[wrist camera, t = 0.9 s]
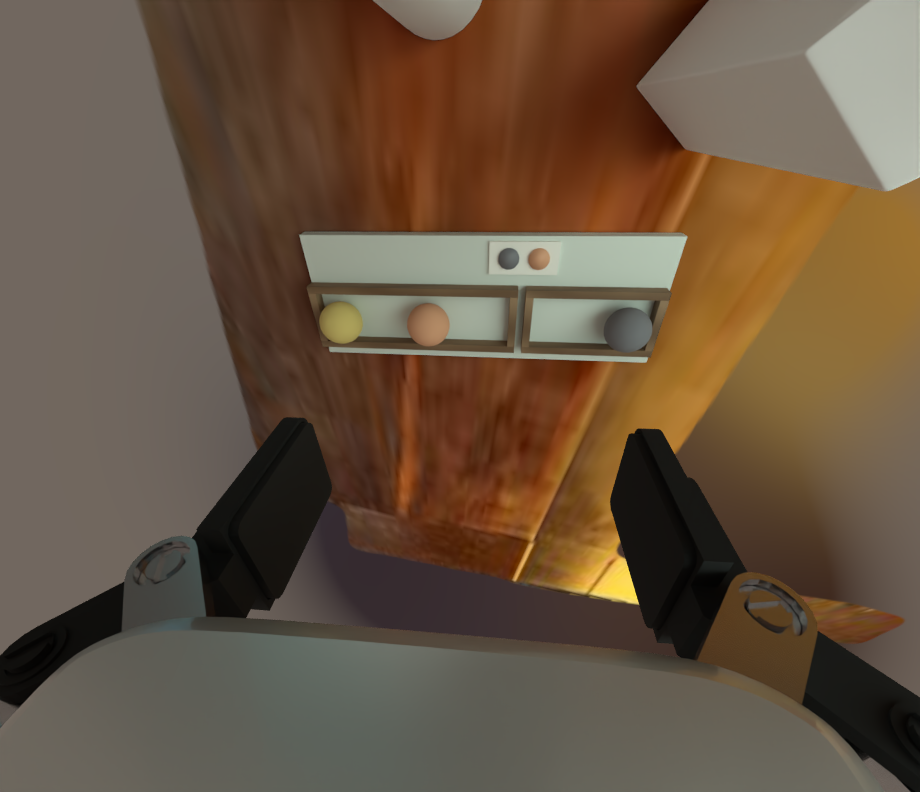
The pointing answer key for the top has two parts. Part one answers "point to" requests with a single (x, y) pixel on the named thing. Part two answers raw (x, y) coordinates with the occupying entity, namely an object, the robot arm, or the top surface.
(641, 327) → the charcoal ball
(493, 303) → the board
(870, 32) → the milk
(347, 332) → the ochre ball
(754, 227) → the top surface
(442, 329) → the terracotta ball
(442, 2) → the cylindrical container
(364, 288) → the wooden picture frame
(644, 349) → the wooden rectangular frame
